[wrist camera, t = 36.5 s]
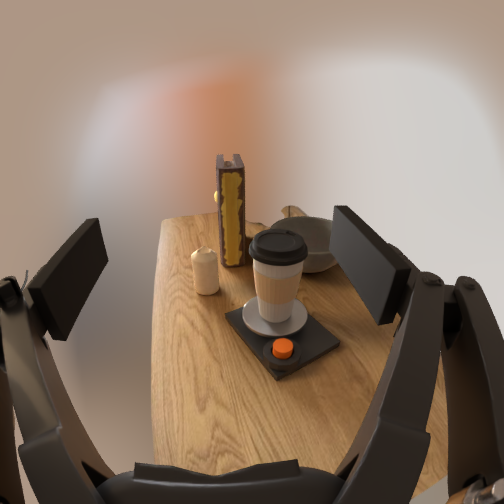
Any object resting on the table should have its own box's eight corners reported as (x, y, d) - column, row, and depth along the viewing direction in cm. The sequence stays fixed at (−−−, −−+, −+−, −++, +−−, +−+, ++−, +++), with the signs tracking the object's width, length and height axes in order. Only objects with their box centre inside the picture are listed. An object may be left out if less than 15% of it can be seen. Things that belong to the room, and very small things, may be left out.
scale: (224, 318, 55) (223, 306, 54) (282, 295, 61) (283, 284, 60) (276, 381, 42) (277, 370, 40) (339, 345, 48) (342, 334, 47)
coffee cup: (304, 302, 54) (313, 231, 46) (293, 335, 46) (303, 258, 39) (258, 292, 57) (259, 223, 49) (241, 323, 49) (239, 247, 42)
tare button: (268, 350, 45) (269, 342, 44) (284, 342, 46) (285, 335, 45) (279, 362, 42) (280, 355, 41) (296, 354, 44) (297, 347, 43)
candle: (198, 280, 67) (194, 242, 62) (221, 282, 66) (219, 244, 61) (192, 294, 62) (187, 255, 57) (216, 296, 61) (213, 256, 56)
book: (250, 265, 72) (250, 167, 60) (216, 267, 71) (211, 169, 59) (243, 229, 91) (242, 152, 79) (216, 230, 91) (213, 153, 78)
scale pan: (231, 307, 53) (230, 305, 53) (282, 288, 59) (282, 286, 59) (265, 347, 44) (265, 345, 44) (320, 321, 50) (320, 318, 50)
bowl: (290, 240, 85) (292, 208, 80) (354, 259, 75) (361, 226, 70) (252, 270, 71) (252, 233, 66) (328, 298, 60) (335, 259, 55)
